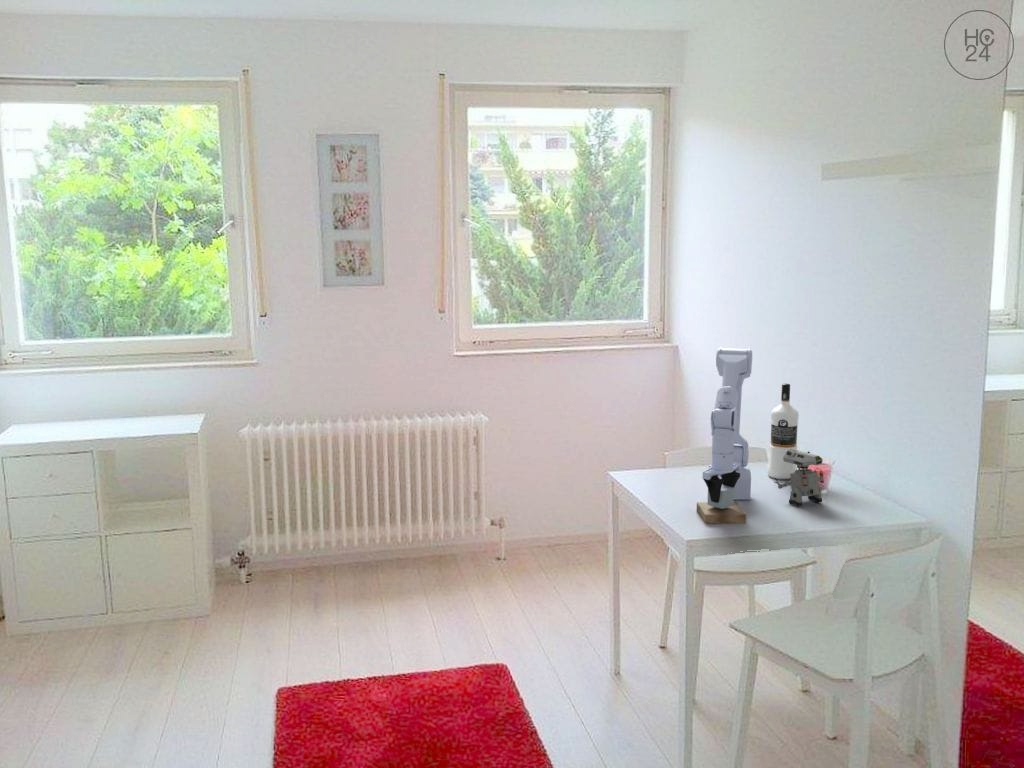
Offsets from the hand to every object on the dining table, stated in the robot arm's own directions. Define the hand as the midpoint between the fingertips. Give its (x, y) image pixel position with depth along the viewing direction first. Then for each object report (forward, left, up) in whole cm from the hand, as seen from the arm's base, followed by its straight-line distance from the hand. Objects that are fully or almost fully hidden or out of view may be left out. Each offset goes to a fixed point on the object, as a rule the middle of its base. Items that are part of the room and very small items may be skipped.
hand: (721, 499), depth 254 cm
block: (0, 0, -2) cm, 2 cm away
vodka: (-29, -40, -5) cm, 50 cm away
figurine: (-26, -13, -5) cm, 30 cm away
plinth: (0, 0, -5) cm, 5 cm away
